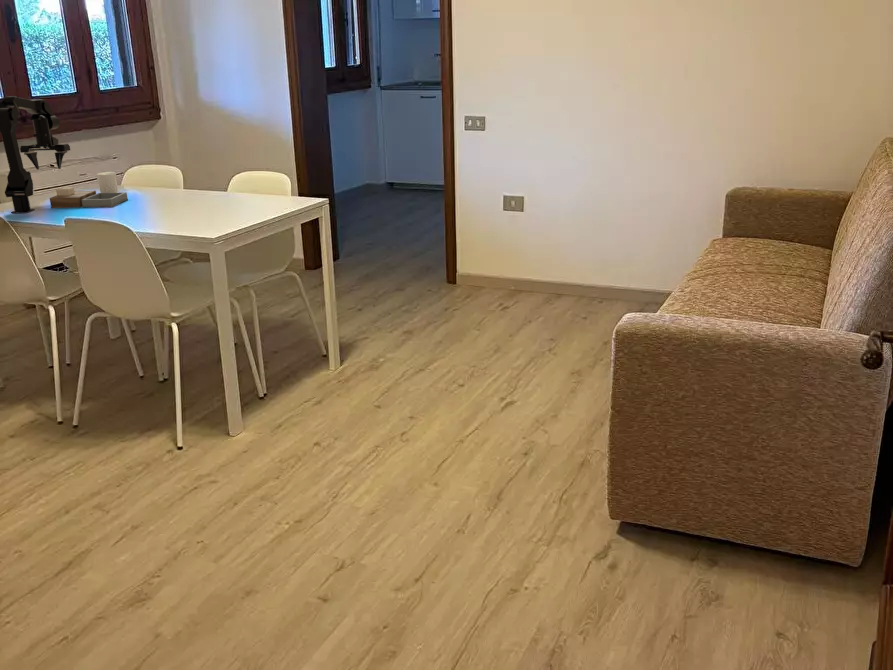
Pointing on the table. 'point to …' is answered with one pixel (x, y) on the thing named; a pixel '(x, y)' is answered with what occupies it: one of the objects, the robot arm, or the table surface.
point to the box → (104, 199)
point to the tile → (65, 191)
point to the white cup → (107, 182)
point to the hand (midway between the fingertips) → (48, 169)
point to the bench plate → (70, 199)
